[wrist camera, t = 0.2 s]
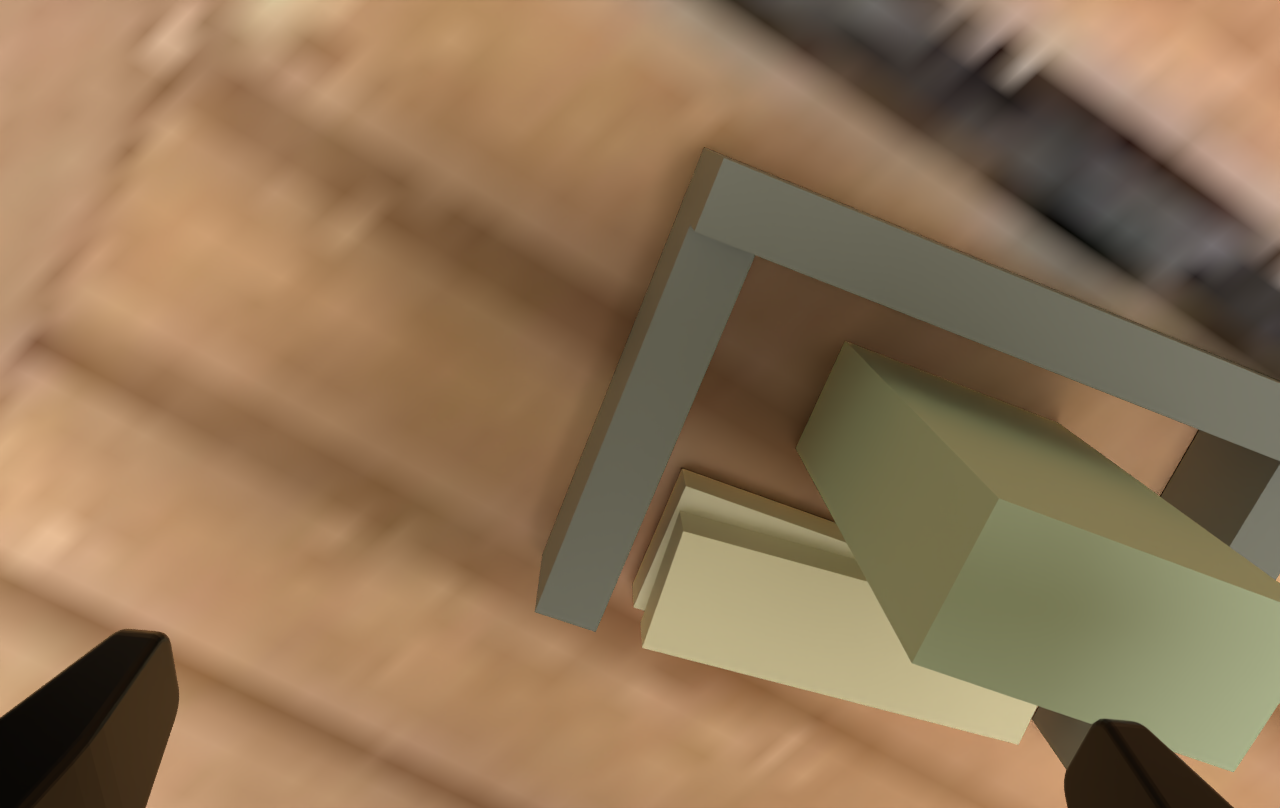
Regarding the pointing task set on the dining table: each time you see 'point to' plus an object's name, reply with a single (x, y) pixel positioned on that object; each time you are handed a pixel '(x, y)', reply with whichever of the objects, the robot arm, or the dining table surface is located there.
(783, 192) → the frame
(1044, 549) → the green block
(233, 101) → the dining table surface
